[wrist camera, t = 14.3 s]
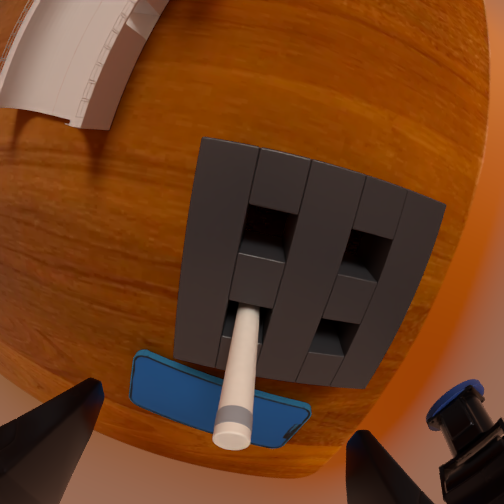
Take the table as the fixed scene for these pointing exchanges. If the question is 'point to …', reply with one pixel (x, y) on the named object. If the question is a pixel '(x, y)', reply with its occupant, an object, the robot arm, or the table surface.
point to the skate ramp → (76, 57)
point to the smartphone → (208, 400)
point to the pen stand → (299, 264)
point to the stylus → (239, 383)
